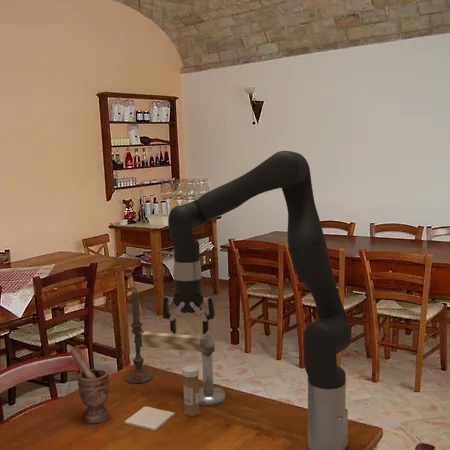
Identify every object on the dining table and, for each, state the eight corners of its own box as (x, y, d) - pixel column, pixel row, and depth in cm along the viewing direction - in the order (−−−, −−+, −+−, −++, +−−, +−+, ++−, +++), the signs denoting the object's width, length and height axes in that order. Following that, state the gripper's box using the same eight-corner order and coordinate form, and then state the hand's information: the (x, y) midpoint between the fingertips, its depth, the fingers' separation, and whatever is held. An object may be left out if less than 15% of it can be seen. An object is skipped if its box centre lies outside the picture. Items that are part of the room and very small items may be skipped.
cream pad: (174, 414, 163) (174, 412, 163) (155, 430, 154) (154, 428, 154) (145, 408, 167) (145, 406, 167) (124, 423, 159) (124, 421, 158)
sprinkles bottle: (203, 413, 163) (201, 368, 161) (189, 418, 161) (187, 372, 159) (194, 407, 167) (193, 363, 165) (181, 412, 164) (179, 367, 162)
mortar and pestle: (65, 423, 159) (60, 355, 156) (77, 409, 168) (73, 343, 165) (104, 426, 157) (100, 356, 155) (115, 411, 166) (111, 345, 163)
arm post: (230, 394, 175) (229, 349, 173) (215, 408, 166) (214, 360, 164) (202, 389, 179) (200, 344, 177) (185, 402, 170) (184, 355, 168)
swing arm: (216, 349, 172) (216, 335, 171) (212, 354, 168) (211, 340, 167) (143, 343, 179) (142, 329, 178) (137, 347, 174) (136, 334, 174)
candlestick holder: (120, 382, 186) (115, 292, 181) (132, 371, 194) (128, 285, 190) (146, 385, 183) (141, 294, 179) (157, 374, 192) (153, 286, 187)
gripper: (215, 273, 161) (216, 329, 163) (165, 273, 162) (167, 328, 165) (211, 279, 153) (212, 338, 156) (159, 279, 155) (161, 337, 157)
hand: (189, 333), depth 160 cm, fingers open, 8 cm apart
